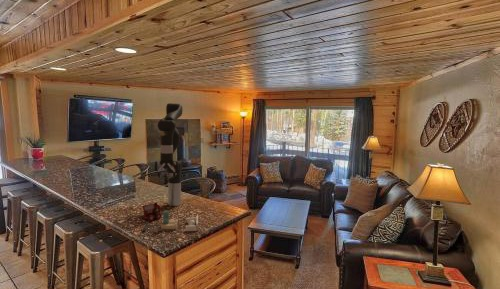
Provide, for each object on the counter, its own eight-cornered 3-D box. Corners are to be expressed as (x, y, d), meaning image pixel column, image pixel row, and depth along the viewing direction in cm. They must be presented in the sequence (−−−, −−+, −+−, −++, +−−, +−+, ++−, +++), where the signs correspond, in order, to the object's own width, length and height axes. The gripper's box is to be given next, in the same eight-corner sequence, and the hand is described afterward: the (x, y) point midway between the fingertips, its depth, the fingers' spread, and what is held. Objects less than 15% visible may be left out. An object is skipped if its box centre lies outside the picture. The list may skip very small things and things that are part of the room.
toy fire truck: (164, 217, 174) (164, 202, 173) (146, 223, 165) (146, 207, 164) (158, 215, 179) (158, 200, 177) (140, 220, 169) (140, 204, 168)
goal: (186, 222, 168) (186, 215, 168) (198, 221, 170) (198, 215, 169) (185, 231, 156) (185, 223, 155) (197, 230, 157) (197, 223, 156)
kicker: (162, 223, 163) (162, 209, 162) (177, 223, 165) (177, 208, 164) (160, 229, 155) (160, 214, 154) (176, 228, 157) (176, 213, 156)
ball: (188, 225, 164) (188, 219, 164) (195, 224, 165) (195, 218, 164) (188, 228, 160) (188, 221, 160) (195, 227, 161) (194, 221, 160)
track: (147, 224, 162) (147, 221, 162) (180, 223, 166) (180, 220, 165) (144, 231, 153) (144, 227, 153) (178, 230, 157) (178, 226, 157)
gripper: (179, 151, 170) (178, 176, 172) (155, 151, 168) (155, 176, 170) (178, 153, 163) (177, 178, 165) (153, 152, 160) (153, 179, 162)
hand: (166, 177), depth 167 cm, fingers open, 8 cm apart
